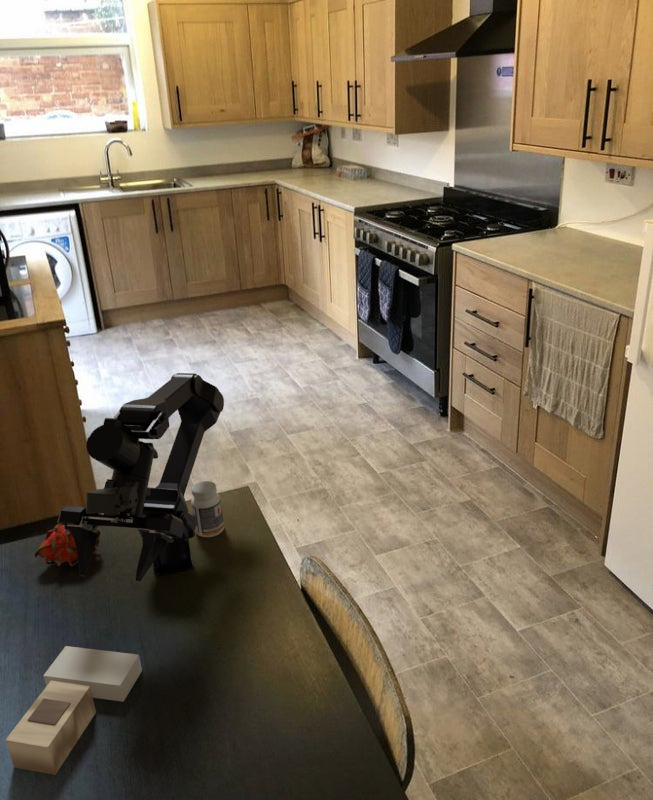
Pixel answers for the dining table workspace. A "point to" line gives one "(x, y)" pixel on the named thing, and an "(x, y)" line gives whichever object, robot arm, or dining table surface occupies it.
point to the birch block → (51, 727)
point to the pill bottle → (207, 509)
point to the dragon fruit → (60, 546)
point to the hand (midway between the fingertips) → (109, 578)
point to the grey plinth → (96, 671)
